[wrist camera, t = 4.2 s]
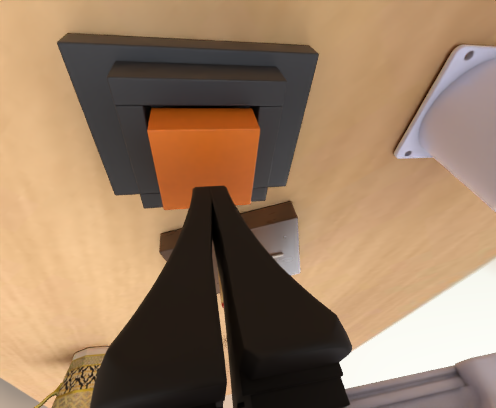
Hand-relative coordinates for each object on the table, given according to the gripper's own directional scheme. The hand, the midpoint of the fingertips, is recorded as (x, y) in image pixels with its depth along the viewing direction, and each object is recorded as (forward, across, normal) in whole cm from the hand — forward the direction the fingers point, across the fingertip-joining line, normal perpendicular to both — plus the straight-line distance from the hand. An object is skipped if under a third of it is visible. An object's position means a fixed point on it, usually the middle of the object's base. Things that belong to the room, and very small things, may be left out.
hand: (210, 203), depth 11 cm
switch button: (+4, 0, 0) cm, 4 cm away
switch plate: (+7, 0, 0) cm, 7 cm away
